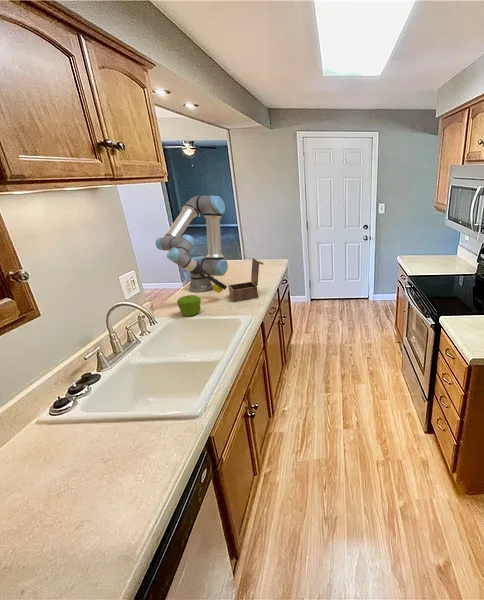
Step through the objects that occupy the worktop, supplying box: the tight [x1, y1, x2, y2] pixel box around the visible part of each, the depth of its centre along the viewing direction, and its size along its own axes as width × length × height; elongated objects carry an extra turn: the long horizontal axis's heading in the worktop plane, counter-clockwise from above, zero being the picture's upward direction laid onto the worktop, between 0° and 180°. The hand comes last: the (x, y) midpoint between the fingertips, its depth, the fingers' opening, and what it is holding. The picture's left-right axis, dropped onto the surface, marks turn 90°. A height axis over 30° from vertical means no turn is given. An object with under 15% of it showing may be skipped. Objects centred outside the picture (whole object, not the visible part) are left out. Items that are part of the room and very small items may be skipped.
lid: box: [250, 257, 264, 287], centre depth 221 cm, size 16×14×5 cm
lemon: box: [213, 283, 224, 294], centre depth 213 cm, size 7×6×10 cm
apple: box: [176, 294, 202, 317], centre depth 192 cm, size 12×12×11 cm
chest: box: [227, 281, 259, 303], centre depth 220 cm, size 16×14×8 cm
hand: (223, 286), depth 216 cm, fingers closed on lemon, 8 cm apart
